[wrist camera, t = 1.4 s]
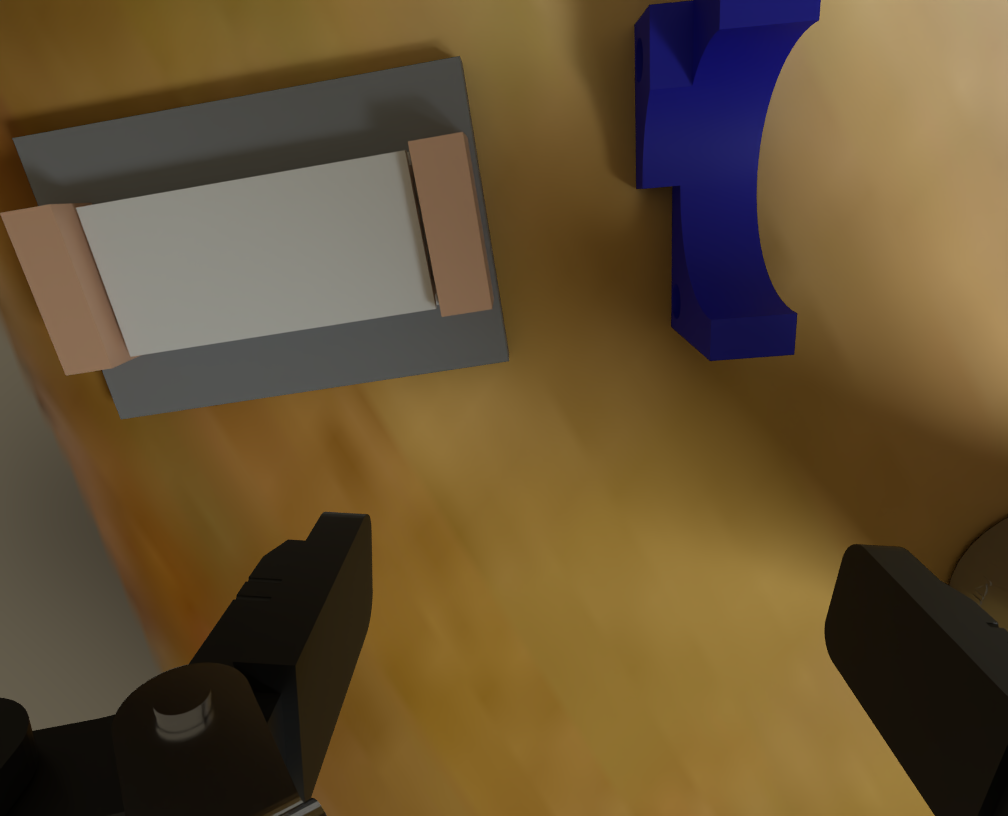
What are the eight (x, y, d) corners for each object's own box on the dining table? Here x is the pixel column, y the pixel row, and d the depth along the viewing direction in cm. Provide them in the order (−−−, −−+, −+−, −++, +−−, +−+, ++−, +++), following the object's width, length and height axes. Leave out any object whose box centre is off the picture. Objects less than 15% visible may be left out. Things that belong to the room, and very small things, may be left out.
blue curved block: (633, 26, 24) (670, -23, 19) (750, 14, 24) (823, -39, 18) (637, 328, 28) (668, 364, 23) (737, 321, 28) (794, 354, 22)
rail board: (462, 61, 25) (453, 42, 21) (509, 354, 29) (508, 376, 25) (34, 140, 26) (-39, 133, 22) (135, 410, 30) (87, 439, 26)
